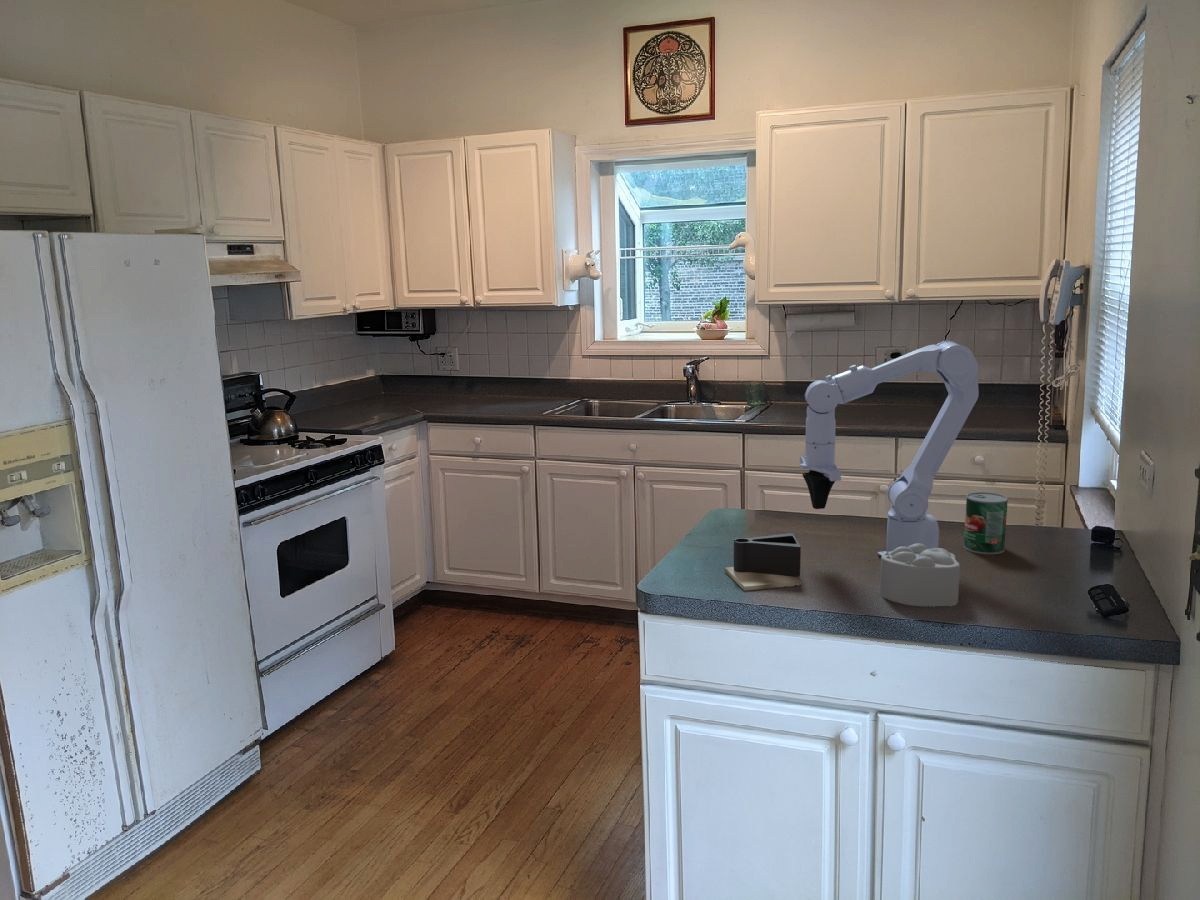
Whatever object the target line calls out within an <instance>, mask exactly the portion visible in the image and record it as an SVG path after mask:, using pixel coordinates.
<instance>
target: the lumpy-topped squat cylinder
mask: <svg viewBox="0 0 1200 900" xmlns="http://www.w3.org/2000/svg"><path fill="white" fill-rule="evenodd" d="M956 559H957V558H956V555H955V554H954V553H952V552H951V551H950V552H949V551H948V550H946V549H945V548H941V547H938V548H932V549H928V548H927V547H926V546H925V545H924V544H920V543H916V544H913V545H910V546H909V547H903V546H902V547H897V548H896V549H894V550H893V551H890V552H887V553H885V554H883V555H882V557H881V556H880V573H879V574H880V576H879V577H880V578H879V579H880V580H879V581H880V582H879V595H880V597H882V598H883V599H886V600H888V601H891V602H894V603H898V604H902V605H907V606H915V607H928V606H930V608H932V606H933V608H935V606H949V607H954V606H956V605H955V604H957V603H959V593H960V592H959V589H960V573H961V572H960V568H961V566H960V563H959V561H957V560H956ZM953 605H954V606H953ZM957 605H958V604H957Z"/></svg>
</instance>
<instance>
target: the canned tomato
mask: <svg viewBox="0 0 1200 900" xmlns="http://www.w3.org/2000/svg"><path fill="white" fill-rule="evenodd" d="M1008 500H1009V498H1008V497H1007V496H1006V495H1003V494H1000V493H995V492H986V491H985V492H984V491H978V492H976V491H975V492H971V493H967V494H966V500H965V501H966V503H965V517H964V518H965V521H964V539H963V540H964V541H963V548H964V549H965V550H966V551H969V552H971V553H975V554H979V555H980V554H981V555H998V554H1003V553H1005V550H1006V548H1005V547H1006V531H1007V519H1008V518H1007V517H1008V516H1007V515H1008V514H1007V513H1008V502H1009V501H1008Z"/></svg>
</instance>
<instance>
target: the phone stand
mask: <svg viewBox="0 0 1200 900" xmlns="http://www.w3.org/2000/svg"><path fill="white" fill-rule="evenodd" d="M801 548H802V547H801V544H800V543H799V541H798V539H797V538H796V536H795V534H794V533H793V532H788V533H779V534H770V535H765V536H764V535H762V536H756V537H745V538H744V537H739V538H734V539H733V567H734V571H736V572H753V573H763V574H773V575H783V576H793V577H796V578H800V577H801V552H802V551H801Z"/></svg>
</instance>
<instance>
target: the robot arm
mask: <svg viewBox="0 0 1200 900" xmlns="http://www.w3.org/2000/svg"><path fill="white" fill-rule="evenodd" d="M918 371H919V372H920V371H921V372H925V373H930V374H939V376H940V377H941V378H942V381H943V383H944V385H945V389H946V390H947V392H948V393H947V397H946V398H945V401H943V402H944V403H943V404H942V406H941V408H940V410H939V411H938V414H937V415H936V417H935V419H934V421H933V423H932V424H931V426H930V429H928V432H927V434H926V435H925V438H924V439H923V441H922V443H921V444H920V447H919V449H918V451H917V452H916V454H915V455H914V457H913V459H912V462H911V463H910V464H909V466H908V467H906V468H905V469H904V470H903V471H902V473H901V474H900V476H899V477H898V478H897V479H896V480H895V481H893V482H892V483H891V484H890V485H889V487H888V489H887V499H888V500H889V502H890V504H891V505H892V506H891V508H890V509H889V511H888V512H887V524H886V526H887V527H886V550H885V551H877V555H878V556H880V558H881V557H882V555H883V554H885V553H887V552H890V551H893V550H894V549H896V548H897V547H902V546H903V547H909V546H910V545H913V544H916V543H920V544H924V545H925V546H926V547H927V548H928V549H932V548H939V540H940V538H939V537H940V528H939V527H940V526H939V523H938V520H937V519H936V518H935V517H934V516H933V515H932V514H926V512H927V511H928V508H929V499H930V495H931V493H932V492H933V486H934V480H935V477H936V475H937V474H938V471H939V469H940V467H941V466H942V464H943V463H944V460H945V459H946V458H947V456H948V453H949V451H950V450H951V448H952V446H953V444H954V442H955V440H957V437H958V435H959V433H960V432H961V430H962V428H963V426H964V425H965V422H966V421H967V419H968V417H969V415H970V413H971V412H972V410H973V408H974V406H975V404H977V403H976V402H977V401H978V399H979V395H980V393H979V392H980V391H979V379H978V378H979V376H978V371H979V363H978V360H977V359H976V357H975V356H974V353H973V352H972V350H971V349H969V348H968V347H967V346H965V345H962V344H959V343H957V342H955V341H953V340H943V341H940V342H939V343H937V344H929V345H926V346H925V345H924V346H923V347H921V348H918V349H915V350H913V351H910V352H908V353H905V354H903V355H901V356H898V357H896V358H893V359H891V360H889V361H886V362H884V363H881V364H879V365H877V366H874V367H872V368H870V367H867V366H866V365H860V366H857V365H856V364H852V365H850V366H849V369H848V370H846V371H843V372H841V373H838V374H836V375H833V376H832V375H831V374H829V375H826V376H825V379H826V380H821V379H820V380H819V379H818V380H815V381H813V382H812V383H810V384H809V386H807V389H806V390H805V393H804V399H805V401H806V403H807V404H808V405H807V407H806V419H805V449H804V452H805V453H804V454H805V455H803V456H799V468H800V469H802V470H809V471H808V472H802V478H803V480H804V481H805V484H806V485H807V488H808V489H807V490H808V492H809V498H810V501H811V506H812V508H813V509H815V510H823V509H825V508H826V507H827V502H828V499H829V495H830V492H831V490H832V488H833V485H834V484H835V482H837V481H838V482H839V481H841V480H842V470H840V469H839V467H838V465H837V464H836V463H835V460H836V455H835V454H836V426H837V424H836V418H835V415H836V413H835V412H836V407H838V404H840V405H843V404H846V403H849V402H852V401H853V400H854V401H855V400H856V399H859V398H862V397H864V396H868V395H870V394H872V393H874V391H875V389H876V387H877V386H878V385H879V384H882V383H884V382H887V381H891V380H893V379H896V378H900V377H903V376H906V375H909V374H912V373H915V372H918Z"/></svg>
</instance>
